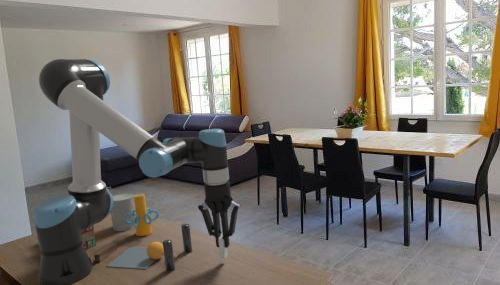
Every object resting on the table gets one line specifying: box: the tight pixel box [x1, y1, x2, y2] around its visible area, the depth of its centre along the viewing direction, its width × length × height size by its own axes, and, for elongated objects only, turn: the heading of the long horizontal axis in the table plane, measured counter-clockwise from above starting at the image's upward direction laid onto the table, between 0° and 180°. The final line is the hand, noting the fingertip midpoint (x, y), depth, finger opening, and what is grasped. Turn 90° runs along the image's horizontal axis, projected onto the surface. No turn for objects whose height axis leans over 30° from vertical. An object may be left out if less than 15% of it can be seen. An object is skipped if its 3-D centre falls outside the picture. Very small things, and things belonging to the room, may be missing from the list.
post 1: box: [162, 239, 176, 273], centre depth 119 cm, size 3×3×9 cm
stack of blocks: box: [81, 225, 97, 250], centre depth 147 cm, size 21×6×12 cm, turn 44°
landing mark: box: [106, 246, 156, 270], centre depth 129 cm, size 14×14×1 cm
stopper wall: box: [93, 242, 118, 263], centre depth 133 cm, size 2×9×2 cm, turn 164°
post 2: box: [181, 223, 193, 254], centre depth 130 cm, size 3×3×9 cm
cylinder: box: [125, 193, 159, 237], centre depth 149 cm, size 12×10×15 cm
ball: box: [146, 241, 164, 261], centre depth 127 cm, size 6×6×6 cm
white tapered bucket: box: [110, 192, 136, 232], centre depth 158 cm, size 10×10×12 cm
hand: (224, 256), depth 121 cm, fingers closed
